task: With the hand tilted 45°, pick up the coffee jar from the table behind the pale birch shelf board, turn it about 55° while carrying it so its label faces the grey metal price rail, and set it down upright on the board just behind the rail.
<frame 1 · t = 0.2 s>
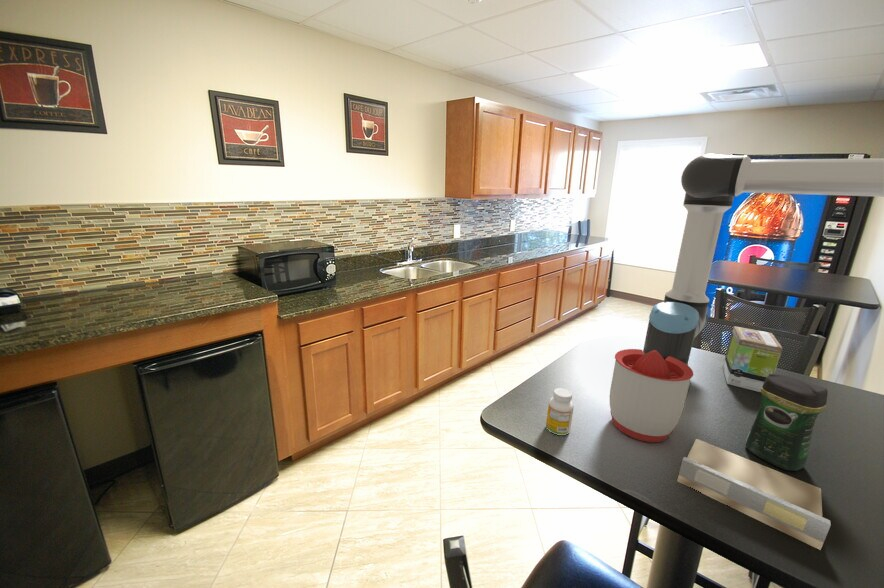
price rail: (746, 495, 65), on the shelf board, point 3 cm above the table
citrus juicer: (639, 426, 89), on the table
supplement bottle: (557, 430, 87), on the table
shelf board: (746, 488, 71), on the table
coffee jar: (772, 457, 80), on the table
tea box: (743, 380, 115), on the table
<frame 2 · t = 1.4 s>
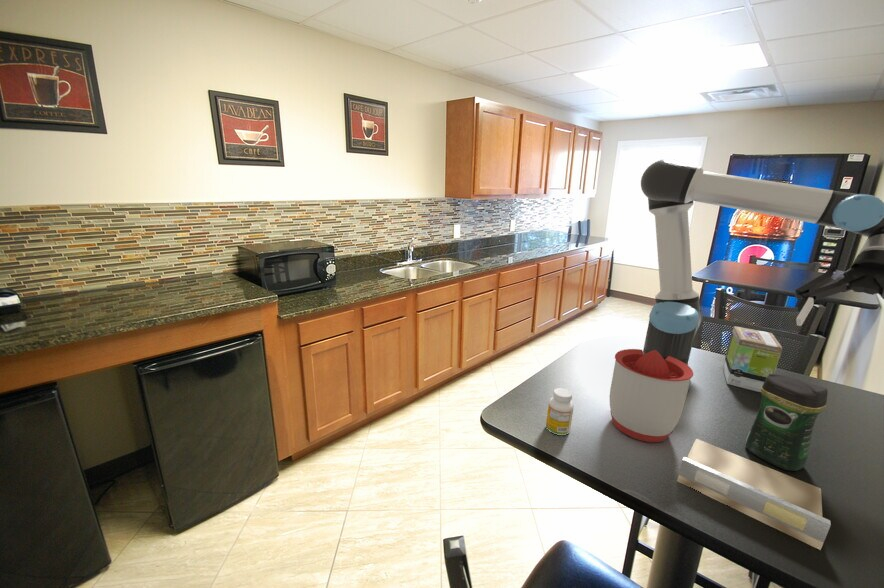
hand: (839, 332, 80), 27 cm above the table, tool tilted 45°, fingers open, 13 cm apart
nothing on the table moved.
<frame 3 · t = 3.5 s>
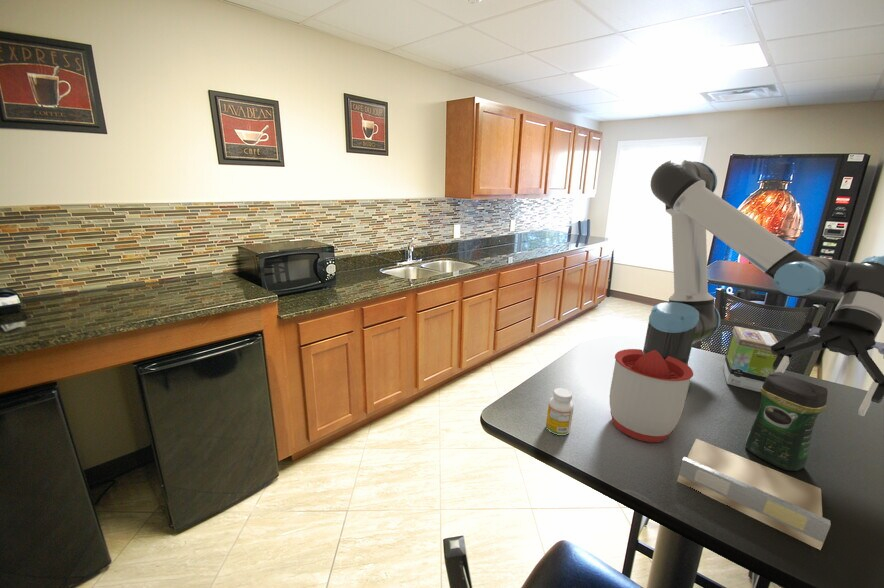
hand: (814, 396, 78), 14 cm above the table, tool tilted 45°, fingers open, 13 cm apart
nothing on the table moved.
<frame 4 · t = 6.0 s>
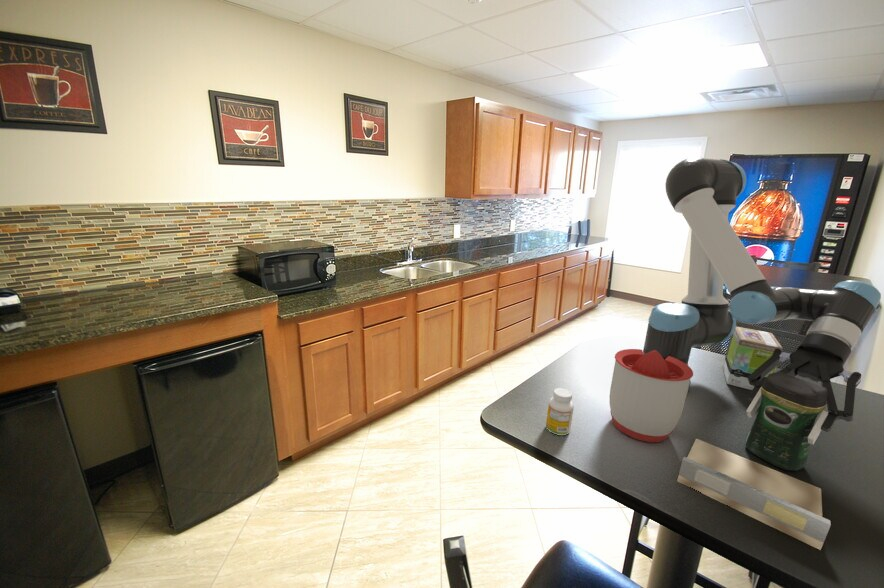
hand: (778, 427, 77), 8 cm above the table, tool tilted 45°, fingers closed on coffee jar, 9 cm apart
coffee jar: (772, 457, 80), on the table, touching gripper
everything else where it was.
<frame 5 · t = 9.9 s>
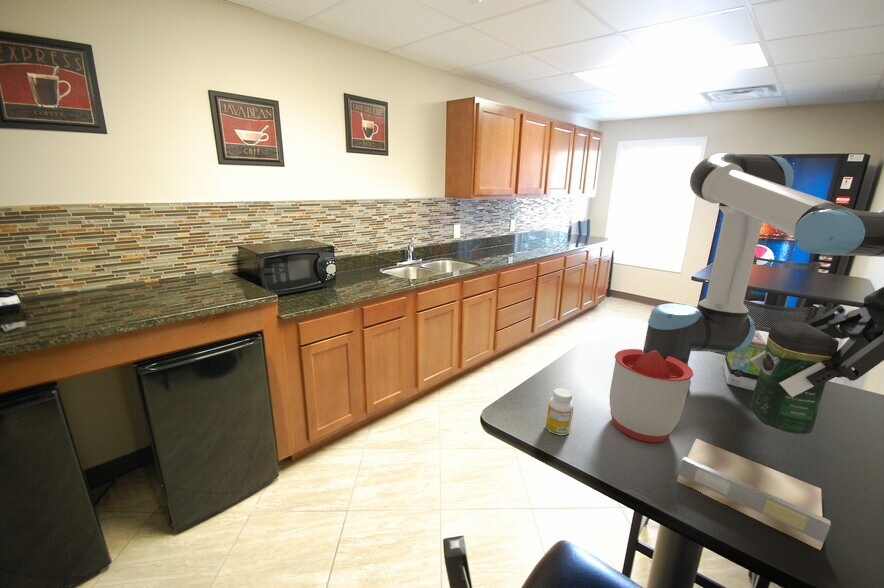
hand: (769, 376, 67), 22 cm above the table, tool tilted 45°, fingers closed on coffee jar, 9 cm apart
coffee jar: (778, 421, 69), point 14 cm above the table, touching gripper
everything else where it was.
when the fingers open (11 cm above the table, at t = 13.4 s): coffee jar drops 1 cm, resting on shelf board.
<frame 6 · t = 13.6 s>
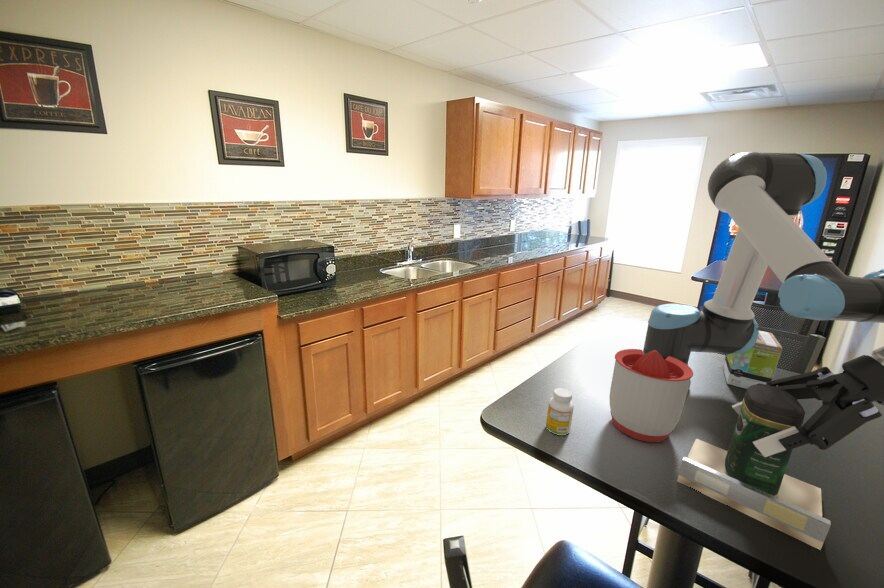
hand: (746, 429, 69), 12 cm above the table, tool tilted 45°, fingers open, 12 cm apart
coffee jar: (749, 479, 72), point 1 cm above the table, touching shelf board
everything else where it was.
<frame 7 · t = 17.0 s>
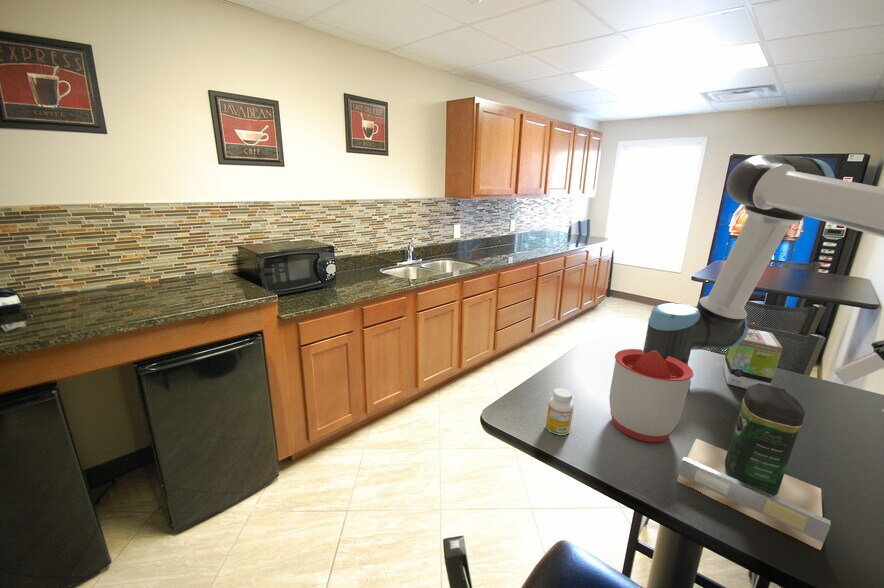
hand: (861, 395, 62), 22 cm above the table, tool tilted 45°, fingers open, 13 cm apart
nothing on the table moved.
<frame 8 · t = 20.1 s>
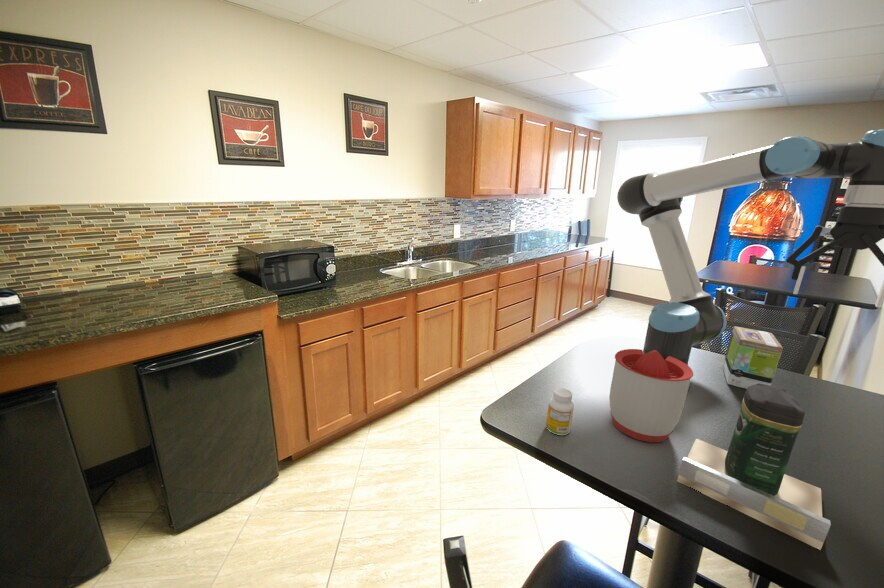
hand: (834, 299, 87), 32 cm above the table, tool pointing down, fingers open, 13 cm apart
nothing on the table moved.
at the end: coffee jar inside the target area on the shelf board (1.9 cm from its centre), point 1.3 cm above the shelf board's base; coffee jar tilted 0°; the gripper is holding nothing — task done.
